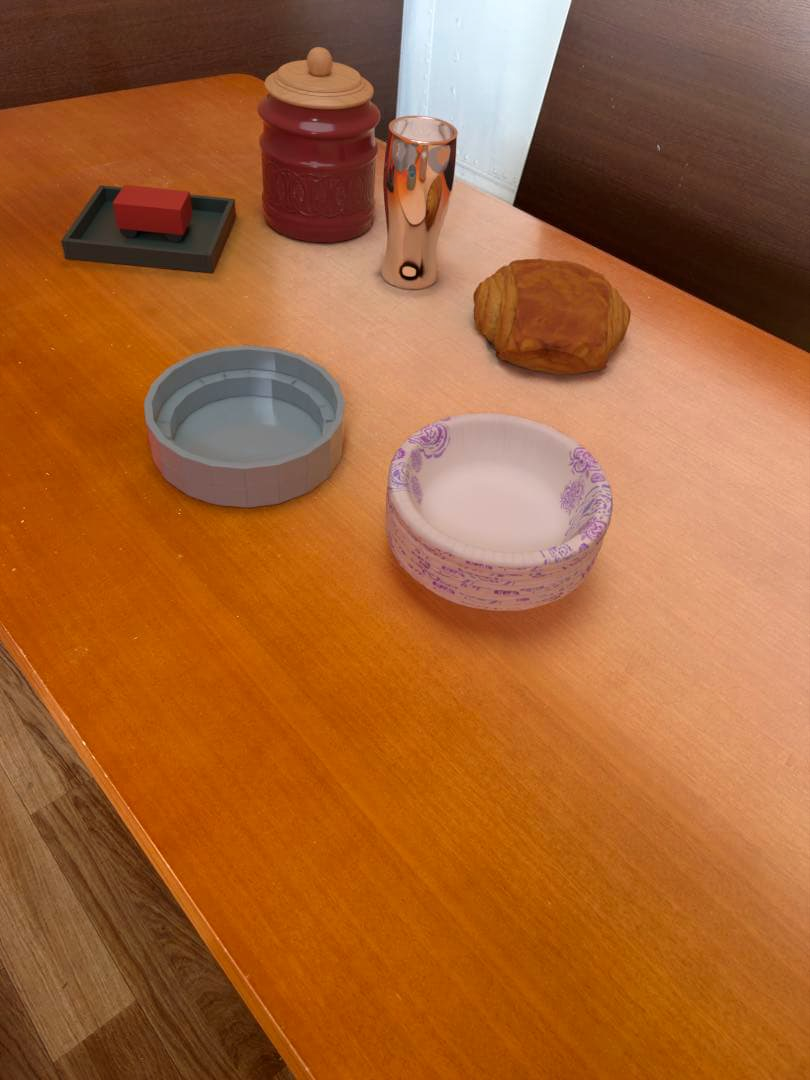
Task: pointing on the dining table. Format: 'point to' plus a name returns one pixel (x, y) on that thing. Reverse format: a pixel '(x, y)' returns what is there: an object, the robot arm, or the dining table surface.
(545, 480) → the paper bowls
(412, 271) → the beer glass
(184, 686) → the dining table surface
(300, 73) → the kitchen canister
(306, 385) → the bowl
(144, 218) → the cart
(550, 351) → the croissant
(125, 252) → the tray
